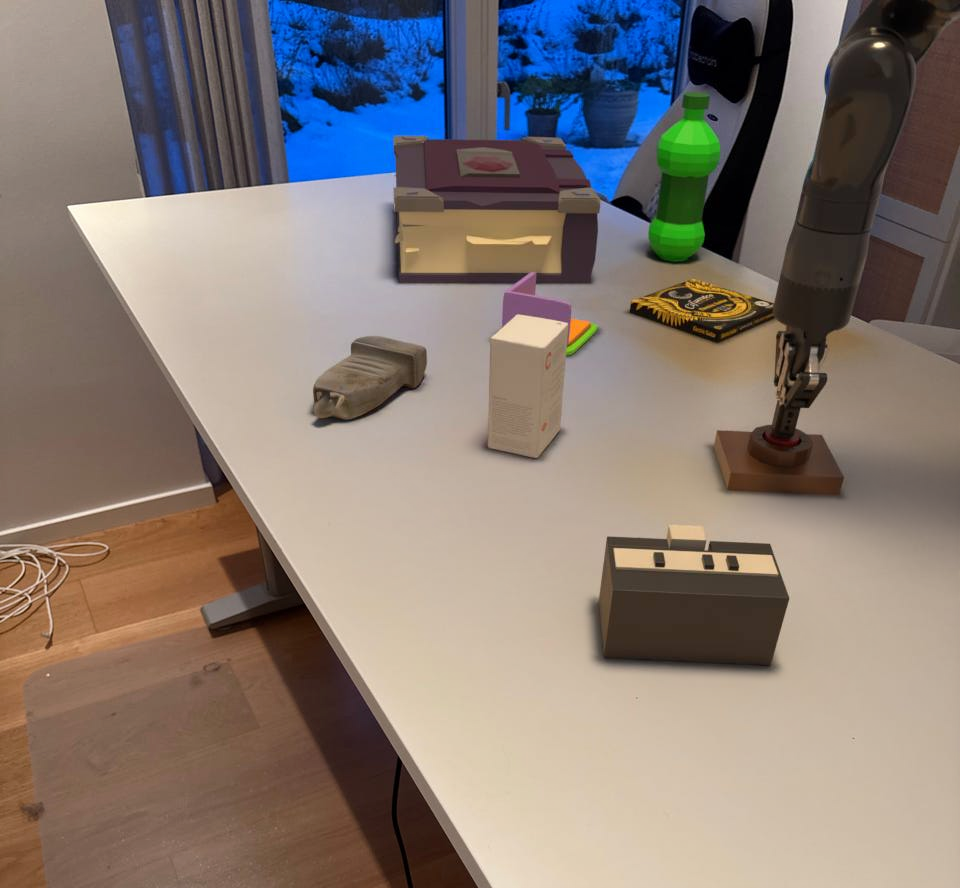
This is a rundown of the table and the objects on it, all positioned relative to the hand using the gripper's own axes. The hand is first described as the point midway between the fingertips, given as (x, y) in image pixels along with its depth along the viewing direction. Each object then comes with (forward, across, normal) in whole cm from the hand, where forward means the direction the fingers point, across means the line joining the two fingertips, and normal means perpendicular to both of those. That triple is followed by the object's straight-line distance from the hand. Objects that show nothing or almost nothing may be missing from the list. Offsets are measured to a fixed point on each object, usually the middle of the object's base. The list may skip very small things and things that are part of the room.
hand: (781, 434), depth 104 cm
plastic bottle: (+5, +77, +2) cm, 78 cm away
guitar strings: (+5, +49, +1) cm, 49 cm away
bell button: (+2, 0, 0) cm, 2 cm away
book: (+5, +81, +35) cm, 88 cm away
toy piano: (+4, -30, +14) cm, 33 cm away
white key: (0, -26, +14) cm, 29 cm away
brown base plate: (+4, 0, 0) cm, 4 cm away
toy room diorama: (+5, +38, +25) cm, 46 cm away
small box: (+5, +5, +28) cm, 29 cm away
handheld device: (+5, +15, +48) cm, 50 cm away
